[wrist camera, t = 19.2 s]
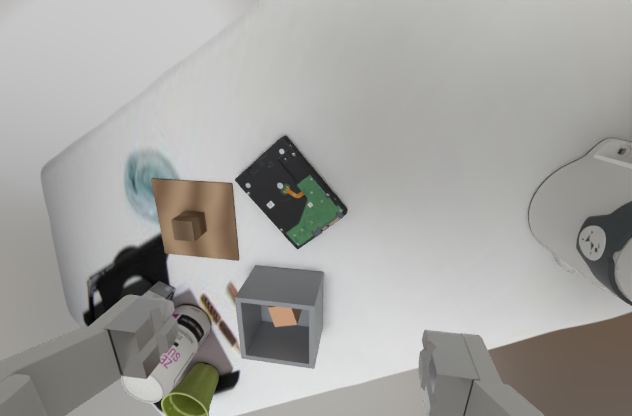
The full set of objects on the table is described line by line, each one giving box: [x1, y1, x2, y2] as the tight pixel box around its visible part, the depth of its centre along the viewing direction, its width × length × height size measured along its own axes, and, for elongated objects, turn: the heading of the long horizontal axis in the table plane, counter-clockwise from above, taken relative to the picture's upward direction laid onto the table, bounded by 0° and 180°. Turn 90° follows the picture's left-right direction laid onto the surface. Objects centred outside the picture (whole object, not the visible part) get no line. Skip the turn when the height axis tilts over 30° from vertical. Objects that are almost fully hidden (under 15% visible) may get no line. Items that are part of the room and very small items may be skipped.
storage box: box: [235, 266, 323, 369], centre depth 52 cm, size 12×12×9 cm
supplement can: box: [121, 305, 211, 403], centre depth 55 cm, size 8×8×15 cm
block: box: [268, 306, 302, 327], centre depth 53 cm, size 4×4×4 cm
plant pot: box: [161, 363, 219, 416], centre depth 63 cm, size 9×9×9 cm
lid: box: [151, 178, 239, 260], centre depth 51 cm, size 14×14×5 cm
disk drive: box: [235, 136, 347, 249], centre depth 48 cm, size 10×3×15 cm
